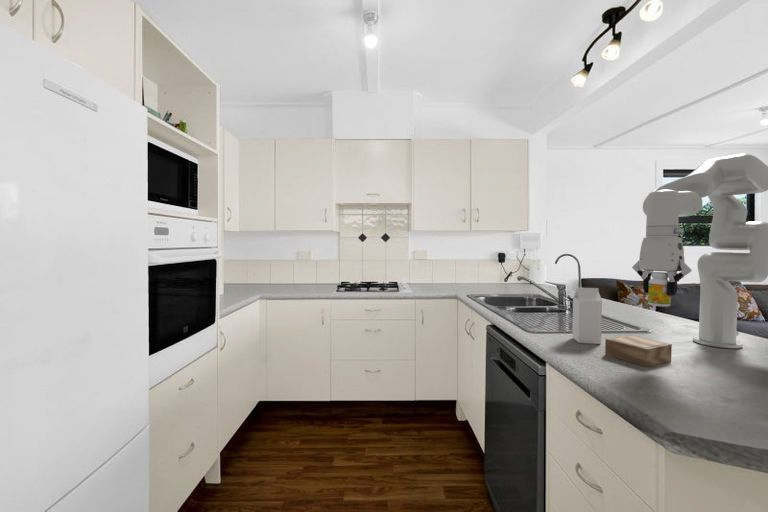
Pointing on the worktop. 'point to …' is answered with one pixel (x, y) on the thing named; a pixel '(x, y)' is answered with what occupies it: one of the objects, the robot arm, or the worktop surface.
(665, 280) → the supplement bottle
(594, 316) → the milk carton
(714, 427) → the worktop surface
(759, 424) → the worktop surface
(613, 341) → the pedestal
